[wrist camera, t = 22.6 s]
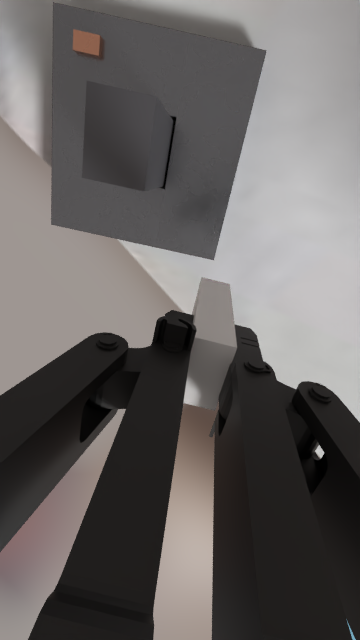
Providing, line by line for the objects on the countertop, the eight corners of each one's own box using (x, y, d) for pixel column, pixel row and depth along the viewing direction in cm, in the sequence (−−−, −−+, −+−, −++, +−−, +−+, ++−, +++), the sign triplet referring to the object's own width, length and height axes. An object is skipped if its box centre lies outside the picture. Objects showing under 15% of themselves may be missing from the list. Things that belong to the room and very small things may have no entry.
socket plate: (261, 61, 25) (267, 47, 22) (213, 253, 32) (213, 261, 29) (67, 18, 24) (49, -2, 22) (62, 220, 32) (48, 225, 29)
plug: (176, 125, 27) (156, 96, 17) (166, 185, 29) (143, 191, 19) (132, 115, 27) (86, 80, 17) (125, 176, 29) (81, 177, 19)
